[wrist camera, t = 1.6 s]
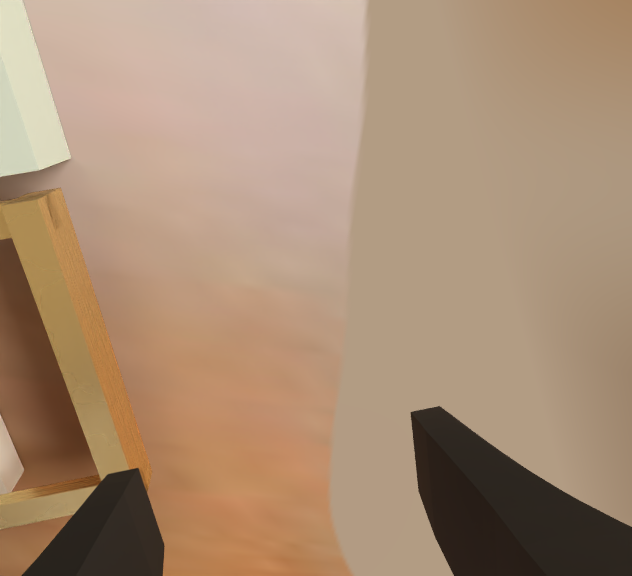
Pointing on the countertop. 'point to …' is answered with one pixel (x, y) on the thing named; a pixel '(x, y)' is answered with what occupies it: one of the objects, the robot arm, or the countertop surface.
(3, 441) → the socket block
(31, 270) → the gold rectangular frame
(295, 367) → the countertop surface
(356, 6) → the countertop surface
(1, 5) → the square cutout plate
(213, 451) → the countertop surface
